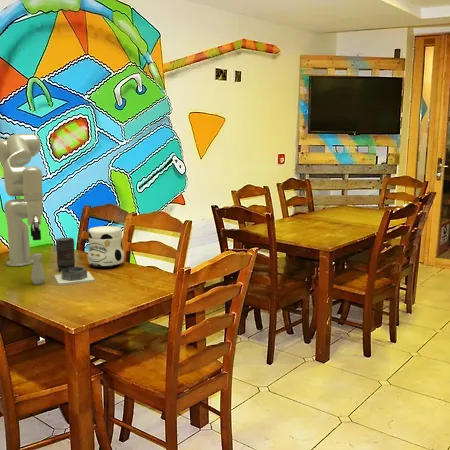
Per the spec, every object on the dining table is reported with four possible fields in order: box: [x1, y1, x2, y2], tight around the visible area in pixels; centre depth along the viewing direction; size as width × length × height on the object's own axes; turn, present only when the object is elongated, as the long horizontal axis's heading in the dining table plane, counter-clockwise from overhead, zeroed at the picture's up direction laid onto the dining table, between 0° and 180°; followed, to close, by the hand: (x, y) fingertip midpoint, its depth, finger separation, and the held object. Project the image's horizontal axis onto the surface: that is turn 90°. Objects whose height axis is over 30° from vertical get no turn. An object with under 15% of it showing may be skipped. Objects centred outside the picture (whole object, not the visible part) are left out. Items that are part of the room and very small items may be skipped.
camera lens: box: [55, 237, 76, 273], centre depth 256 cm, size 8×8×15 cm
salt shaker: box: [30, 252, 46, 286], centre depth 234 cm, size 6×6×13 cm
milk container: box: [87, 225, 125, 269], centre depth 265 cm, size 17×17×18 cm
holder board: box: [54, 271, 95, 286], centre depth 241 cm, size 14×15×1 cm
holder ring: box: [60, 266, 88, 281], centre depth 241 cm, size 10×10×4 cm
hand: (35, 238), depth 232 cm, fingers open, 9 cm apart
